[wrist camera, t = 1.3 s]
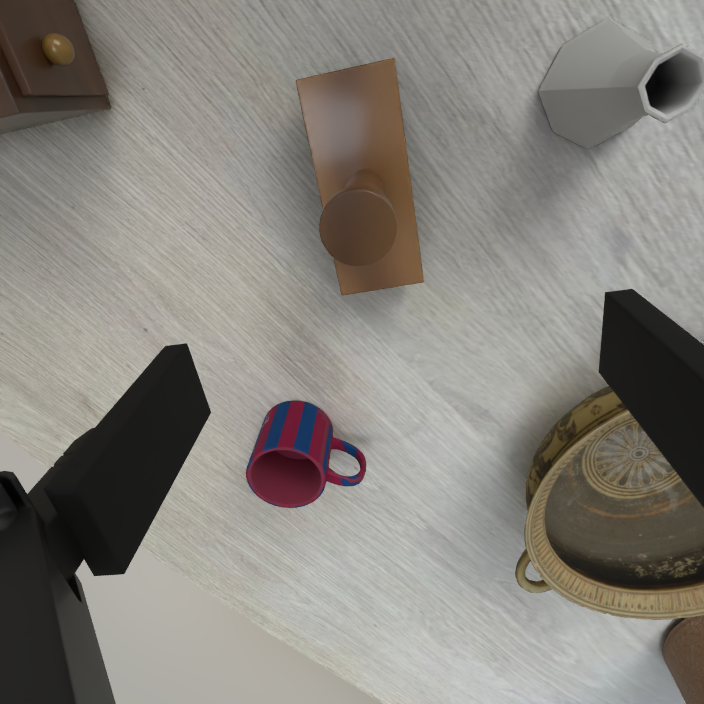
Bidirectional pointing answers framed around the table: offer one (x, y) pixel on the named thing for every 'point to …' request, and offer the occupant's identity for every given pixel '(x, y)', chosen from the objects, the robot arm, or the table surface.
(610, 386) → the robot arm
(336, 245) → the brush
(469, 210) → the table surface
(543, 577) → the ceramic bowl
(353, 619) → the table surface
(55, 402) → the table surface
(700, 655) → the planter
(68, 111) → the cabinet
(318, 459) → the mug
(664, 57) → the flask
